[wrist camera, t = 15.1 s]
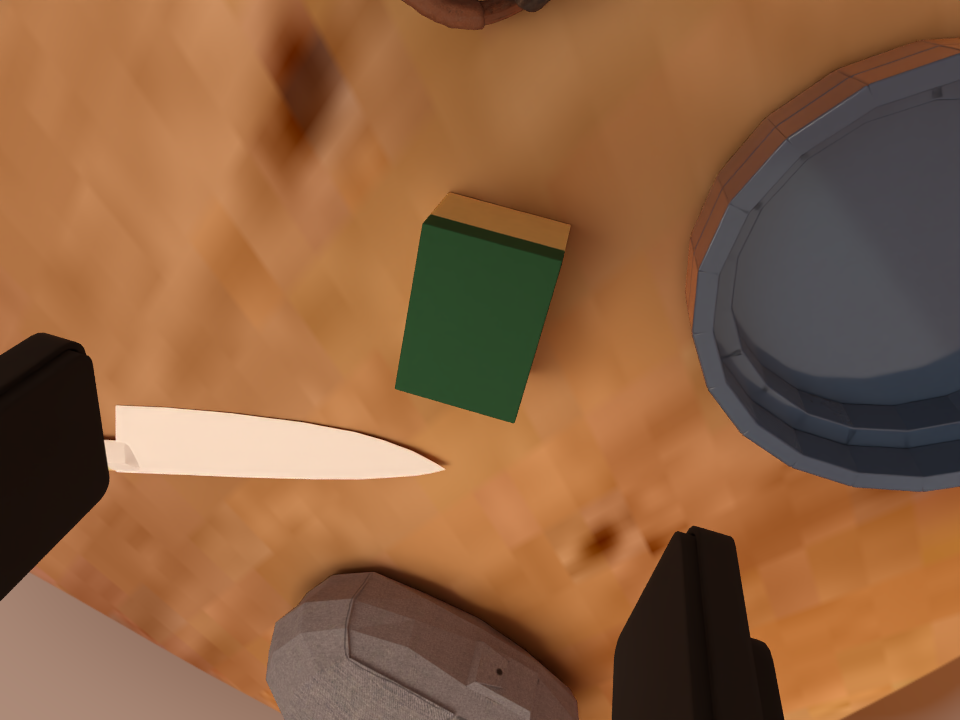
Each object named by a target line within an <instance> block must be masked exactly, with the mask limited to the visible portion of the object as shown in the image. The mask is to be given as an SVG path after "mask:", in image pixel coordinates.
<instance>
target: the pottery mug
mask: <svg viewBox="0 0 960 720" xmlns="http://www.w3.org/2000/svg"><path fill="white" fill-rule="evenodd" d="M402 1H404V2H405V3H406V4H408V5H410V6H412V7H413V8H414V9H415V10H417V11H418V12H419V13H420V14H421V15H423V16H425V17H427V18H429V19H431V20H433V21H435V22H437V23H440V24H443V25H445V26H447V27H450V28H458V29H467V30H478V29H483V28H484V26H485V25H488V24H492V23H495V22H498V21H501V20H503V19H506V18H508V17H510V16H512V15H514V14H516V13H518V12H520V11H522V10H523V9H524V10H526V11H528V12H536V11H538V10H539V9H541V8H542V7H543V6H544V5H546V4H547V3H548V2H549V1H550V0H484V1H478V0H402Z"/></svg>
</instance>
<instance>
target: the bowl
mask: <svg viewBox="0 0 960 720" xmlns="http://www.w3.org/2000/svg"><path fill="white" fill-rule="evenodd" d="M685 295H686V302H687V308H688V314H689V320H690V326H691V331H692V336H693V340H694V344H695V347H696V351H697V354H698V358H699V361H700V365H701V369H702V372H703V376H704V379H705V383H706V386H707V388H708V391H709V392H710V393H711V395H712V396H713V397H714V398H715V400H716V401H717V402H718V404H719V405H720V406H721V408H722V409H723V410H724V412H725V413H726V414H727V416H728V417H729V418H730V420H731V421H732V422H733V424H734V425H735V426H736V428H737V429H738V430H739V432H740V433H741V434H743V436H745V437H746V438H748V439H749V440H751V441H752V442H754V443H755V444H757V445H758V446H760V447H761V448H763V449H764V450H766V451H767V452H769V453H770V454H772V455H773V456H775V457H776V458H778V459H779V460H781V461H782V462H784V463H785V464H787V465H788V466H790V467H792V468H794V469H797V470H801V471H804V472H807V473H810V474H813V475H816V476H819V477H823V478H826V479H829V480H832V481H835V482H838V483H841V484H845V485H848V486H852V487H857V488H871V489H886V490H901V491H915V492H926V491H933V490H940V489H947V488H953V487H960V38H948V39H930V40H921V41H915V42H912V43H910V44H907V45H904V46H901V47H898V48H895V49H893V50H890V51H887V52H884V53H881V54H878V55H875V56H873V57H870V58H867V59H864V60H861V61H858V62H856V63H853V64H850V65H847V66H844V67H841V68H839V69H837V70H836V71H833V72H831V73H830V74H829V75H827V76H826V77H824V78H823V79H821V80H820V81H818V82H817V83H815V84H814V85H812V86H811V87H810V88H808V89H807V90H805V91H804V92H802V93H801V94H799V95H798V96H796V97H795V98H794V99H792V100H791V101H789V102H788V103H786V104H785V105H783V106H782V107H780V108H779V109H777V110H776V111H775V112H773V113H772V114H770V115H769V116H768V117H767V118H765V119H764V120H763V121H762V122H761V124H760V125H759V126H758V127H757V128H756V129H755V131H754V132H753V133H752V134H751V135H750V137H749V138H748V139H747V140H746V141H745V142H744V144H743V145H742V146H741V147H740V148H739V149H738V151H737V152H736V153H735V154H734V155H733V157H732V158H731V159H730V160H729V161H728V162H727V164H726V165H725V166H724V167H723V168H722V169H721V171H720V172H719V173H718V176H717V177H716V178H715V181H714V183H713V185H712V187H711V190H710V192H709V194H708V197H707V199H706V201H705V203H704V206H703V208H702V210H701V212H700V215H699V217H698V219H697V221H696V224H695V226H694V228H693V231H692V233H691V237H690V243H689V254H688V265H687V276H686V288H685Z"/></svg>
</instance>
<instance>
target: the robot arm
mask: <svg viewBox="0 0 960 720" xmlns="http://www.w3.org/2000/svg"><path fill="white" fill-rule="evenodd" d="M108 485H109V470H108V463H107V457H106V450H105V443H104V436H103V430H102V423H101V416H100V409H99V403H98V396H97V389H96V382H95V376H94V369H93V363H92V360H91V358H90V357H89V356H87V355H86V353H85V350H84V348H83V346H82V345H81V344H79V343H77V342H74V341H70V340H67V339H64V338H60V337H57V336H53V335H50V334H47V333H37V334H35V335H32V336H30V337H29V338H27V339H26V340H24V341H22V342H21V343H19V344H18V345H16V346H14V347H13V348H11V349H10V350H8V351H7V352H5V353H3V354H2V355H0V601H1V600H2V599H3V598H4V597H5V596H6V595H7V594H8V593H9V592H10V591H11V590H12V589H13V588H14V587H15V586H16V585H17V584H18V583H19V582H20V581H21V580H22V579H23V577H25V576H26V575H27V574H28V573H29V572H30V571H31V570H32V569H33V568H34V567H35V566H36V565H37V564H38V563H39V561H40V560H41V559H42V558H43V557H44V556H45V555H46V554H47V553H48V552H49V551H50V550H51V549H52V548H53V547H54V546H55V545H56V544H57V543H58V542H59V541H60V540H61V539H62V538H63V537H64V536H65V535H66V534H67V533H68V532H69V531H70V530H71V529H72V528H73V527H74V526H75V525H76V524H77V523H78V522H79V521H80V520H81V519H82V518H83V517H84V516H85V515H86V514H87V513H88V512H89V511H90V510H91V509H92V508H93V507H94V506H95V505H96V504H97V503H98V502H99V501H100V499H101V498H102V497H103V496H104V494H105V492H106V490H107V488H108ZM612 720H784V716H783V710H782V705H781V700H780V694H779V689H778V684H777V679H776V673H775V668H774V663H773V659H772V656H771V652H770V650H769V648H768V647H767V645H766V644H765V643H764V642H762V641H760V640H757V639H753V638H750V632H749V626H748V620H747V614H746V608H745V601H744V595H743V589H742V583H741V577H740V570H739V564H738V558H737V552H736V546H735V542H734V540H733V538H732V537H731V536H727V535H724V534H720V533H717V532H714V531H710V530H707V529H704V528H700V527H697V526H692V527H691V528H689V530H688V531H687V533H682V532H679V531H677V532H675V533H674V535H673V536H672V538H671V540H670V542H669V544H668V546H667V548H666V549H665V551H664V553H663V555H662V557H661V559H660V561H659V563H658V565H657V566H656V568H655V570H654V572H653V574H652V576H651V578H650V580H649V581H648V583H647V585H646V587H645V589H644V591H643V593H642V595H641V596H640V598H639V600H638V602H637V604H636V606H635V608H634V610H633V611H632V613H631V615H630V617H629V619H628V621H627V623H626V625H625V626H624V628H623V630H622V632H621V634H620V636H619V638H618V642H617V645H616V649H615V655H614V674H613V701H612Z"/></svg>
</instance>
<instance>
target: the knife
mask: <svg viewBox="0 0 960 720" xmlns="http://www.w3.org/2000/svg"><path fill="white" fill-rule="evenodd" d="M104 443H105V450H106V457H107V463H108V470H116V472H129V473H154V474H180V475H202V476H225V477H252V478H289V479H374V478H390V477H404V476H416V475H423V474H429V473H434V472H438V471H442V470H445V469H444V468H443V467H441V466H439V465H438V464H436V463H434V462H433V461H431V460H429V459H427V458H425V457H423V456H421V455H419V454H417V453H415V452H414V451H411V450H409V449H406V448H403V447H401V446H398V445H395V444H392V443H390V442H387V441H384V440H381V439H378V438H374V437H371V436H367V435H364V434H360V433H357V432H352V431H347V430H341V429H336V428H331V427H325V426H320V425H315V424H309V423H304V422H296V421H289V420H281V419H273V418H265V417H257V416H249V415H241V414H234V413H224V412H213V411H201V410H190V409H178V408H167V407H144V406H121V405H116V441H115V440H104Z"/></svg>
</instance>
